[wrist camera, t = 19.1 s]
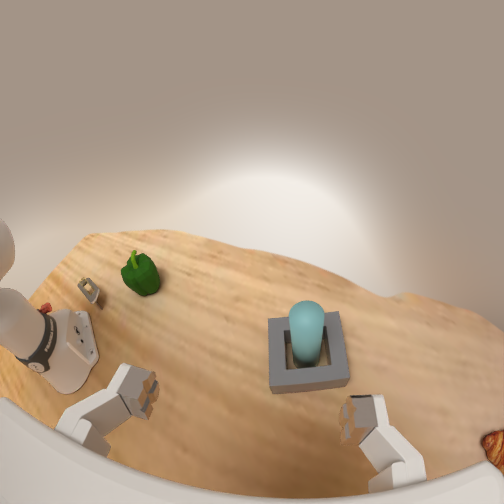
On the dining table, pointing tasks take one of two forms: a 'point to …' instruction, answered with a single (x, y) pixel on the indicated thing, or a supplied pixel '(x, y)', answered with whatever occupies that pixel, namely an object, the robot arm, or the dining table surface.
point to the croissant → (495, 449)
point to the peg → (306, 333)
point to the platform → (93, 296)
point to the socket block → (314, 376)
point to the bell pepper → (141, 274)
